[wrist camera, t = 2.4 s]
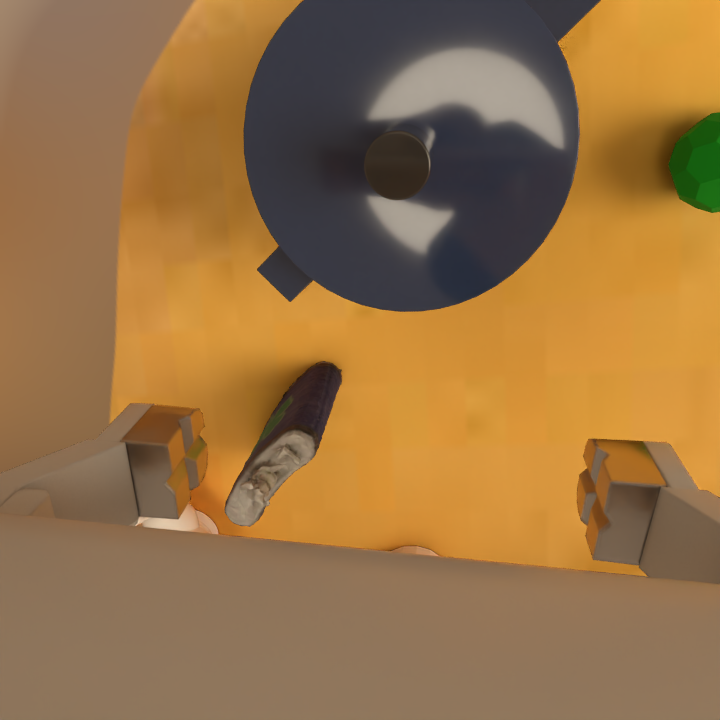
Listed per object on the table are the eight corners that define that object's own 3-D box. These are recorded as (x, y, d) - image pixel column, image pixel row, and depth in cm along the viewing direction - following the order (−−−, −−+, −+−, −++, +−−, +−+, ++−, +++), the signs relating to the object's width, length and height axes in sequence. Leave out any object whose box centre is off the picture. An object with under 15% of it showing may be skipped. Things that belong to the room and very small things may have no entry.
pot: (631, 99, 33) (691, 108, 24) (383, 316, 40) (363, 381, 32) (466, -111, 30) (468, -185, 21) (233, 165, 37) (166, 191, 29)
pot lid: (646, 156, 26) (681, 171, 22) (400, 358, 32) (391, 400, 28) (415, -134, 23) (404, -181, 19) (190, 149, 29) (144, 161, 24)
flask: (283, 456, 47) (237, 554, 37) (252, 435, 46) (197, 529, 37) (351, 374, 43) (319, 461, 33) (317, 350, 42) (275, 431, 33)
